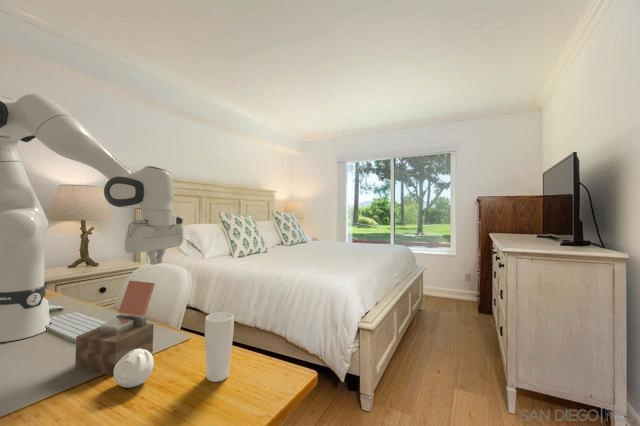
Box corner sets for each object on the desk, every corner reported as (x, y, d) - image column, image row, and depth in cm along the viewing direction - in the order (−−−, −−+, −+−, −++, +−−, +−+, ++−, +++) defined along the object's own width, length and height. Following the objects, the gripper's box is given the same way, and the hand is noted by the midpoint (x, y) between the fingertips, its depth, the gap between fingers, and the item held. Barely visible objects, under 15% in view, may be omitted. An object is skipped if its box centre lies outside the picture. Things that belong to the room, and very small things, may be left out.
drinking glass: (204, 387, 67) (206, 323, 67) (201, 372, 73) (203, 313, 73) (234, 381, 71) (236, 319, 70) (229, 367, 77) (231, 310, 76)
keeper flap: (118, 312, 83) (121, 312, 84) (142, 315, 81) (144, 315, 82) (129, 280, 86) (131, 281, 87) (152, 282, 84) (155, 283, 85)
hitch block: (75, 368, 73) (76, 328, 73) (117, 346, 85) (118, 312, 85) (114, 375, 71) (116, 334, 71) (152, 352, 83) (153, 317, 83)
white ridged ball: (105, 392, 65) (106, 357, 65) (131, 373, 72) (132, 342, 72) (137, 396, 64) (138, 361, 63) (161, 377, 71) (162, 345, 71)
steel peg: (99, 359, 76) (100, 324, 76) (116, 350, 81) (117, 317, 81) (115, 362, 75) (116, 327, 75) (132, 352, 80) (133, 320, 80)
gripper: (138, 221, 80) (137, 271, 80) (187, 219, 100) (186, 259, 100) (119, 220, 81) (118, 269, 81) (171, 218, 101) (170, 258, 101)
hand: (156, 263), depth 91 cm, fingers closed
